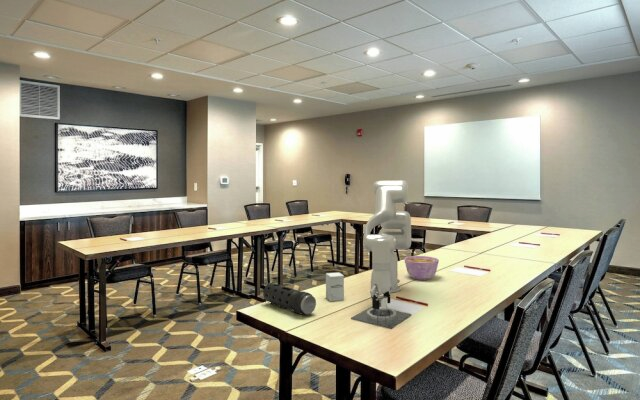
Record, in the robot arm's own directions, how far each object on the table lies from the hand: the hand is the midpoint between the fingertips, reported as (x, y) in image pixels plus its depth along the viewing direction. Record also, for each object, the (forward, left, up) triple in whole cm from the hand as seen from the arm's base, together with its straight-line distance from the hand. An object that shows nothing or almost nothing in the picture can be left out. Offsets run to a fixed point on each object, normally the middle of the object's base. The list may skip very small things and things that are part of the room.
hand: (381, 305), depth 167 cm
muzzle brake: (+16, -39, -5) cm, 43 cm away
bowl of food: (-71, -12, -5) cm, 72 cm away
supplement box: (-9, -31, -5) cm, 33 cm away
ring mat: (0, 0, -5) cm, 5 cm away
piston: (0, 0, -4) cm, 4 cm away
